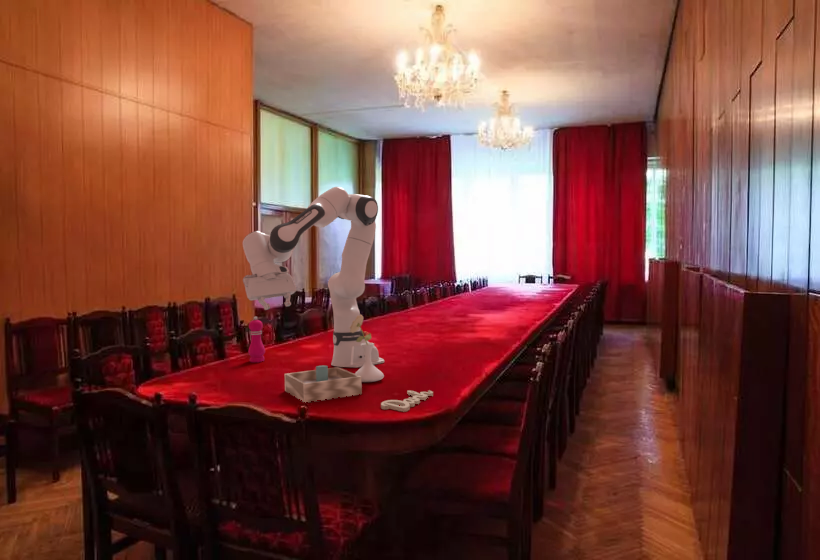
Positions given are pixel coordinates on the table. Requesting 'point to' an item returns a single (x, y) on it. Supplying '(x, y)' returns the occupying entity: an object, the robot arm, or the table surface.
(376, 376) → the flower in vase
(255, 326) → the pepper mill
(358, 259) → the robot arm
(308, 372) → the bore box
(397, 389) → the table surface
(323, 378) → the peg
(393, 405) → the decorative sign
